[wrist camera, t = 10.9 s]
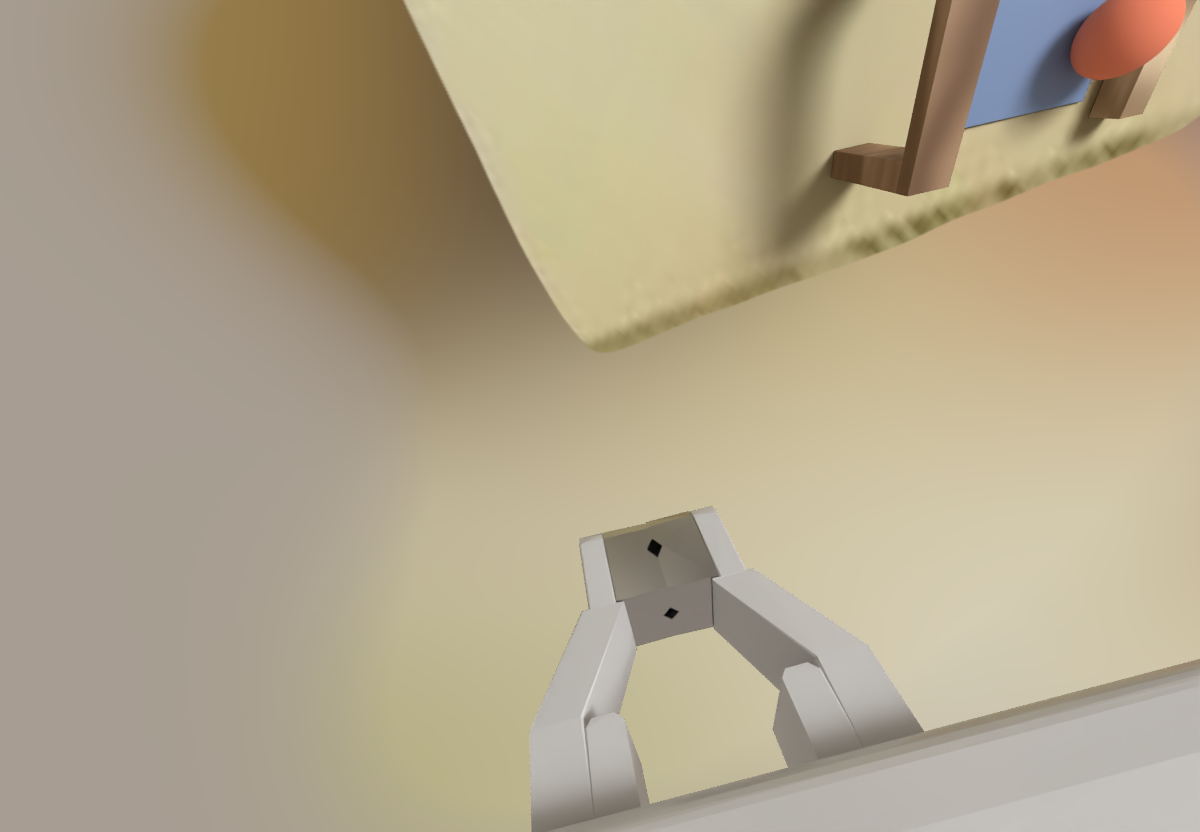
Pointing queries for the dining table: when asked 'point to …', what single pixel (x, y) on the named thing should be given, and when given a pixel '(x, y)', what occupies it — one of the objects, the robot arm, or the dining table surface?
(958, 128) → the bridge
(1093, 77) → the ball
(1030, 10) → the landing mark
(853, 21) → the dining table surface
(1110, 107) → the wall
